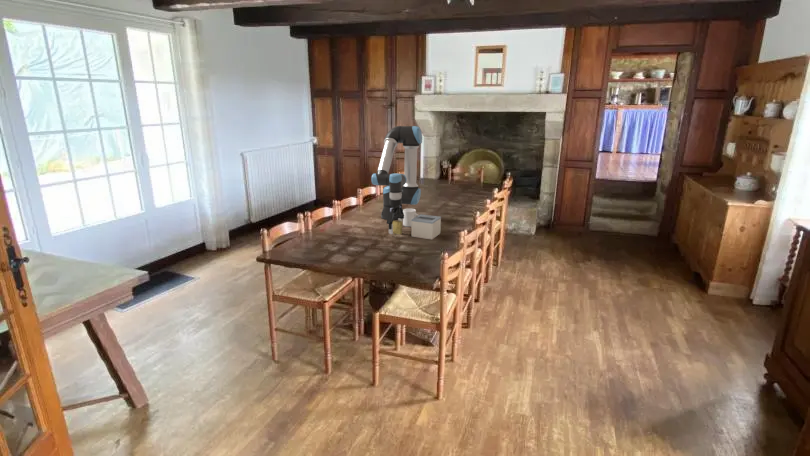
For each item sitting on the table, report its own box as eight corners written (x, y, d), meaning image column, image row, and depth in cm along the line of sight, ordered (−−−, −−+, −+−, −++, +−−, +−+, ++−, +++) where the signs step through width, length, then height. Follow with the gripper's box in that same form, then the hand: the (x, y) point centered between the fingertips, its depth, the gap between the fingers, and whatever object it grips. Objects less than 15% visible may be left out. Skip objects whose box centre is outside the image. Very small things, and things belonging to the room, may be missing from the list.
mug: (416, 228, 286) (416, 212, 283) (400, 225, 292) (400, 210, 288) (422, 225, 293) (422, 209, 290) (406, 222, 299) (406, 207, 296)
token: (389, 232, 277) (389, 220, 274) (391, 231, 279) (390, 219, 276) (400, 234, 273) (400, 222, 271) (402, 233, 276) (402, 221, 273)
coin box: (411, 236, 269) (411, 219, 266) (420, 230, 281) (420, 214, 278) (432, 239, 264) (432, 222, 260) (440, 233, 276) (440, 216, 273)
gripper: (391, 203, 257) (392, 237, 263) (409, 195, 279) (409, 226, 285) (380, 202, 260) (381, 235, 266) (399, 194, 282) (399, 225, 288)
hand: (395, 231), depth 276 cm, fingers open, 13 cm apart
